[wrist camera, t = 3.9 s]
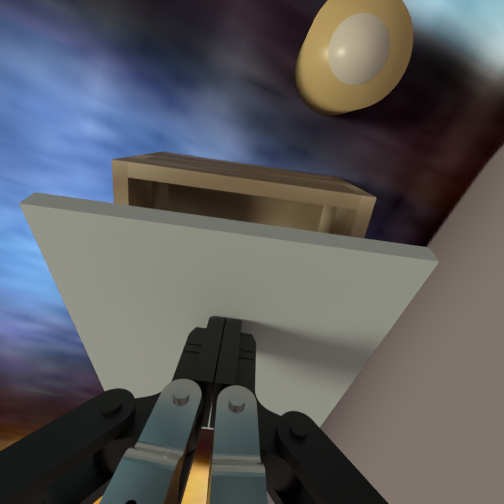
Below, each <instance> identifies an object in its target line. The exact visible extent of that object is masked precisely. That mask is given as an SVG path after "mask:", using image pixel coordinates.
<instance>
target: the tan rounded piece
mask: <svg viewBox="0 0 504 504" xmlns="http://www.w3.org/2000/svg"><path fill="white" fill-rule="evenodd" d="M412 46H413V27H412V22H411V17H410V15H409V12H408V10H407V8H406V6H405V4H404V3H403V1H402V0H328V1H327V2H326V3H325V4H324V6H323V7H322V8H321V10H320V11H319V12H318V14H317V16H316V17H315V19H314V21H313V23H312V26H311V28H310V30H309V32H308V34H307V37H306V39H305V41H304V43H303V45H302V48H301V50H300V52H299V55H298V58H297V62H296V67H295V81H296V86H297V90H298V92H299V95H300V97H301V98H302V100H303V101H304V103H305V104H306V105H307V106H308V107H309V108H310V109H312V110H313V111H315V112H317V113H319V114H322V115H329V116H333V115H340V114H344V113H347V112H351V111H354V110H358V109H362V108H365V107H368V106H371V105H373V104H375V103H377V102H378V101H380V100H381V99H383V98H384V97H385V96H386V95H388V94H389V93H390V92H391V91H392V90H393V89H394V88H395V86H396V85H397V84H398V82H399V81H400V79H401V78H402V76H403V74H404V72H405V70H406V68H407V66H408V63H409V60H410V57H411V52H412Z"/></svg>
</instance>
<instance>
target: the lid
mask: <svg viewBox="0 0 504 504" xmlns="http://www.w3.org/2000/svg"><path fill="white" fill-rule="evenodd" d="M19 204H20V207H21V209H22V211H23V213H24V215H25V218H26V220H27V222H28V224H29V226H30V229H31V231H32V233H33V235H34V237H35V239H36V242H37V244H38V246H39V248H40V250H41V253H42V255H43V257H44V259H45V261H46V264H47V266H48V268H49V270H50V272H51V274H52V277H53V279H54V281H55V283H56V285H57V288H58V290H59V292H60V294H61V296H62V299H63V301H64V303H65V305H66V307H67V310H68V312H69V314H70V316H71V318H72V320H73V323H74V325H75V327H76V329H77V331H78V334H79V336H80V338H81V340H82V342H83V345H84V347H85V349H86V351H87V353H88V355H89V358H90V360H91V362H92V364H93V366H94V369H95V371H96V373H97V375H98V377H99V380H100V382H101V384H102V386H103V388H104V391H107V390H110V389H115V388H122V389H126V390H128V391H130V392H131V393H132V394H133V395H134V398H140V397H146V396H151V395H155V394H157V393H159V392H161V391H162V390H163V388H164V387H165V386H166V385H167V384H169V383H170V382H171V381H172V379H173V376H174V373H175V370H176V368H177V365H178V362H179V359H180V357H181V354H182V352H183V348H184V346H185V343H186V340H187V337H188V335H189V333H190V332H191V331H192V330H193V329H194V328H195V327H201V328H207V324H208V321H209V317H213V318H221V319H225V324H226V319H229V320H236V321H242V326H241V333H248V334H252V335H253V337H254V339H255V341H256V373H255V393H256V397H257V399H258V400H259V402H260V403H261V404H262V405H263V406H264V407H265V408H266V409H268V410H270V411H272V412H274V413H276V414H278V415H280V416H282V415H283V414H284V413H286V412H289V411H298V412H302V413H304V414H306V415H307V416H309V417H310V418H311V419H312V420H313V421H314V422H315V423H316V424H317V425H318V427H320V426H321V425H322V423H323V422H324V421H325V419H326V418H327V416H328V415H329V413H330V412H331V411H332V409H333V408H334V407H335V405H336V404H337V403H338V401H339V400H340V398H341V397H342V396H343V394H344V393H345V392H346V390H347V389H348V387H349V386H350V384H351V383H352V382H353V380H354V379H355V378H356V376H357V375H358V374H359V372H360V371H361V369H362V368H363V367H364V365H365V364H366V363H367V361H368V360H369V358H370V357H371V356H372V354H373V353H374V351H375V350H376V349H377V347H378V346H379V345H380V343H381V342H382V340H383V339H384V338H385V336H386V335H387V333H388V332H389V331H390V329H391V328H392V326H393V325H394V324H395V322H396V321H397V320H398V318H399V317H400V316H401V314H402V312H403V311H404V310H405V309H406V307H407V306H408V304H409V303H410V302H411V300H412V299H413V298H414V296H415V295H416V293H417V292H418V291H419V289H420V288H421V287H422V285H423V284H424V282H425V281H426V280H427V278H428V277H429V276H430V274H431V273H432V271H433V270H434V269H435V267H436V266H437V264H438V263H439V261H438V259H437V258H436V256H435V255H434V253H433V252H432V250H431V249H430V248H428V247H421V246H414V245H407V244H400V243H393V242H386V241H379V240H371V239H364V238H357V237H350V236H343V235H336V234H329V233H321V232H314V231H307V230H300V229H293V228H286V227H279V226H271V225H264V224H257V223H250V222H243V221H236V220H229V219H222V218H214V217H207V216H200V215H193V214H186V213H179V212H172V211H164V210H157V209H150V208H143V207H136V206H129V205H122V204H114V203H107V202H100V201H93V200H86V199H79V198H72V197H65V196H57V195H50V194H43V193H36V192H35V193H33V194H32V195H30V196H29V197H28V198H26V199H25V200H23V201H22V202H20V203H19ZM224 329H225V327H224ZM211 409H212V406H211ZM210 417H211V412H210ZM210 417H209V423H208V428H207V427H202V428H205V429H214V428H209V426H210Z"/></svg>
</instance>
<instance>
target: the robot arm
mask: <svg viewBox="0 0 504 504" xmlns="http://www.w3.org/2000/svg"><path fill="white" fill-rule="evenodd" d="M241 326H242V321H236V320H229V319H226V324H225V319H221V318H213V317H209V321H208V324H207V328H201V327H195V328H194V329H193V330H192V331H191V332H190V333H189V335H188V337H187V340H186V343H185V346H184V348H183V352H182V354H181V357H180V359H179V362H178V365H177V368H176V370H175V373H174V376H173V379H172V381H171V382H170V383H169V384H167V385H166V386H165V387H164V388H163V390H162V391H161V392H159V393H157V394H155V395H151V396H146V397H140V398H134V395H133V394H132V393H131V392H130V391H128V390H126V389H122V388H115V389H110V390H107V391H105V392H103V393H101V394H99V395H97V396H96V397H94V398H92V399H90V400H89V401H87V402H85V403H83V404H82V405H80V406H78V407H76V408H75V409H73V410H71V411H69V412H68V413H66V414H64V415H62V416H61V417H59V418H57V419H56V420H54V421H52V422H50V423H49V424H47V425H45V426H43V427H42V428H40V429H38V430H36V431H35V432H33V433H31V434H29V435H28V436H26V437H24V438H22V439H21V440H19V441H17V442H16V443H14V444H12V445H10V446H9V447H7V448H5V449H3V450H2V451H0V504H93V503H94V502H95V501H97V500H98V499H99V498H100V497H101V496H102V495H103V497H102V499H101V501H100V503H99V504H181V502H182V499H183V495H184V492H185V488H186V485H187V481H188V477H189V474H190V470H191V467H192V463H193V460H194V456H195V453H196V448H197V444H198V442H199V438H200V433H201V428H202V427H207V428H208V423H209V417H210V412H211V417H210V426H209V428H214V429H213V437H212V445H211V454H210V466H209V477H208V489H207V500H206V504H268V500H267V492H268V493H269V495H270V497H271V498H272V500H273V501H274V503H275V504H388V503H387V502H386V501H385V499H384V498H383V497H382V496H381V495H380V494H379V493H378V492H377V490H376V489H375V488H374V487H373V486H372V485H371V484H370V483H369V482H368V481H367V479H366V478H365V477H364V476H363V475H362V474H361V473H360V472H359V471H358V470H357V468H356V467H355V466H354V465H353V464H352V463H351V462H350V461H349V460H348V459H347V457H346V456H345V455H344V454H343V453H342V452H341V451H340V450H339V449H338V447H337V446H336V445H335V444H334V443H333V442H332V441H331V440H330V439H329V438H328V436H327V435H326V434H325V433H324V432H323V431H322V430H321V429H320V428H319V427H318V425H317V424H316V423H315V422H314V421H313V420H312V419H311V418H310V417H309V416H307V415H306V414H304V413H302V412H298V411H289V412H286V413H284V414H283V415H282V416H280V415H278V414H276V413H274V412H272V411H270V410H268V409H266V408H265V407H264V406H263V405H262V404H261V403H260V402H259V400H258V399H257V397H256V393H255V373H256V341H255V339H254V337H253V335H252V334H248V333H241ZM224 327H225V329H224ZM211 406H212V409H211Z"/></svg>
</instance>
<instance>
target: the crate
mask: <svg viewBox="0 0 504 504" xmlns="http://www.w3.org/2000/svg"><path fill="white" fill-rule="evenodd" d="M112 174H113V193H114V204H122V205H129V206H136V207H143V208H150V209H157V210H164V211H172V212H179V213H186V214H193V215H200V216H207V217H214V218H222V219H229V220H236V221H243V222H250V223H257V224H264V225H271V226H279V227H286V228H293V229H300V230H307V231H314V232H321V233H329V234H336V235H343V236H350V237H357V238H364V237H365V234H366V231H367V227H368V224H369V221H370V218H371V214H372V211H373V208H374V205H375V201H376V198H377V197H375V196H373V195H371V194H369V193H367V192H365V191H363V190H361V189H359V188H358V187H356V186H354V185H352V184H350V183H348V182H346V181H344V180H342V179H341V178H339V177H333V176H326V175H319V174H312V173H305V172H298V171H291V170H285V169H278V168H271V167H264V166H257V165H250V164H243V163H236V162H229V161H223V160H216V159H209V158H202V157H195V156H188V155H181V154H174V153H167V152H157V153H151V154H144V155H138V156H131V157H125V158H118V159H112Z"/></svg>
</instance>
